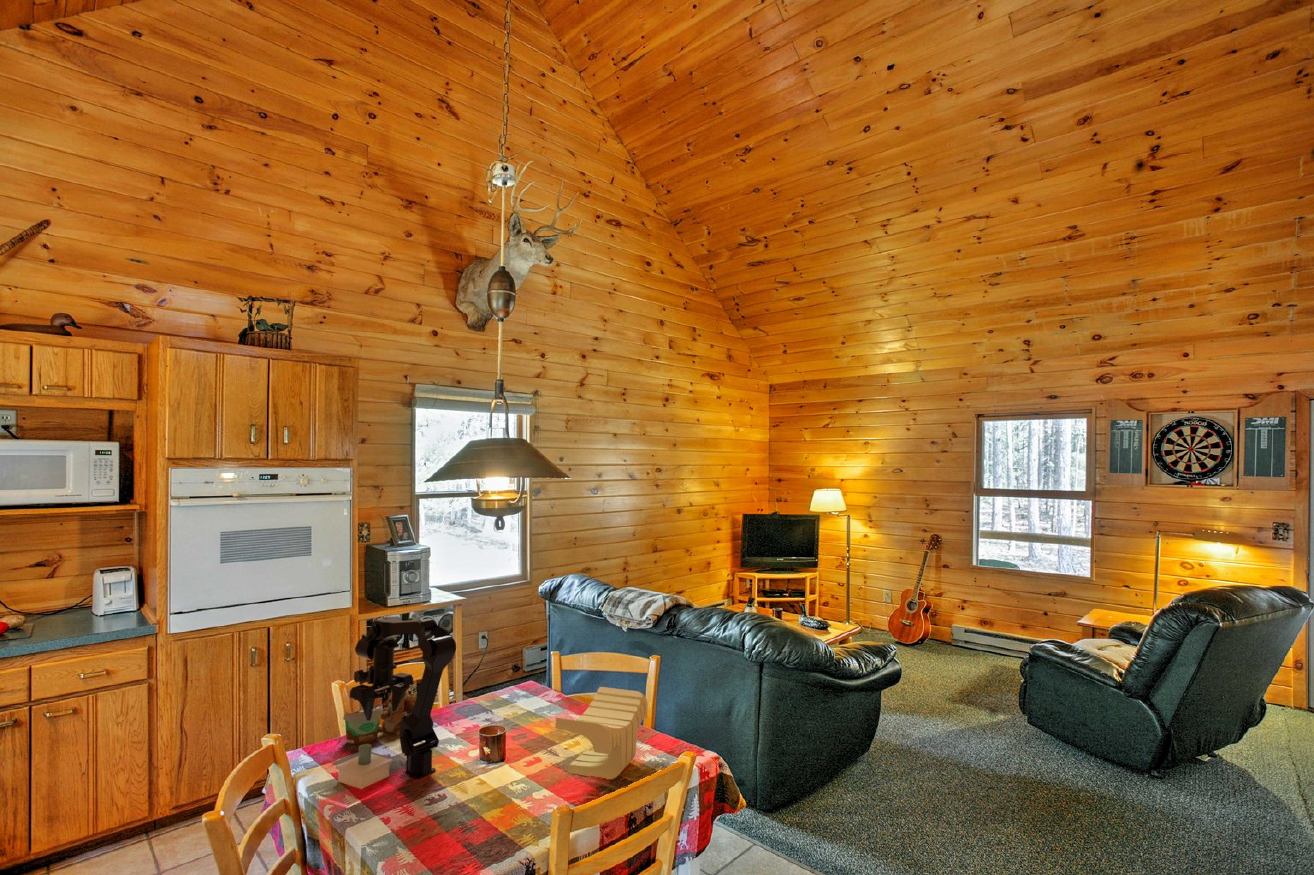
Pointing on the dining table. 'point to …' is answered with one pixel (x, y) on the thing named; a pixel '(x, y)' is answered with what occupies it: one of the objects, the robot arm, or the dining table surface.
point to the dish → (363, 777)
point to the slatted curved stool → (608, 732)
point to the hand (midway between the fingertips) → (381, 715)
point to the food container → (362, 726)
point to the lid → (364, 762)
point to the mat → (354, 757)
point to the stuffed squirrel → (396, 713)
